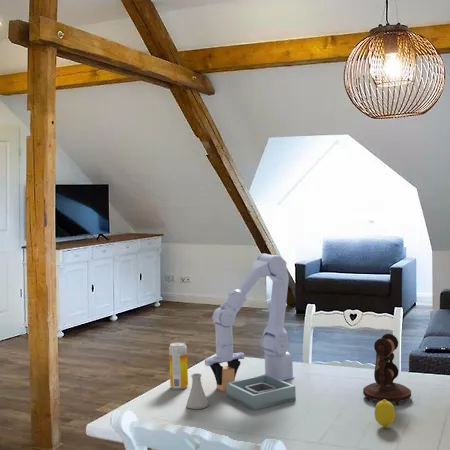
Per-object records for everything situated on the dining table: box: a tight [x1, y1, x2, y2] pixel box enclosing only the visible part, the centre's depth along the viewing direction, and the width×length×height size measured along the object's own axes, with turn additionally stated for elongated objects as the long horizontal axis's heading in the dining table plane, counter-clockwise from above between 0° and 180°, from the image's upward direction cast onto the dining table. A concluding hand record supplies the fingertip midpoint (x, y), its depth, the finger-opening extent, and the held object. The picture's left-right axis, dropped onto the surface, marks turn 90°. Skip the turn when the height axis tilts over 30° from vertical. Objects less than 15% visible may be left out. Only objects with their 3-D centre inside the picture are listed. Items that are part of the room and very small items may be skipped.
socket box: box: [225, 373, 297, 411], centre depth 210 cm, size 16×16×4 cm
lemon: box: [374, 399, 396, 428], centre depth 182 cm, size 6×6×8 cm
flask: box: [185, 372, 209, 410], centre depth 205 cm, size 7×7×10 cm
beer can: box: [168, 341, 189, 390], centre depth 224 cm, size 6×6×15 cm
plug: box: [215, 365, 236, 393], centre depth 221 cm, size 4×4×7 cm
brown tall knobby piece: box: [362, 333, 412, 406], centre depth 206 cm, size 15×15×20 cm
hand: (225, 383), depth 221 cm, fingers closed on plug, 4 cm apart
